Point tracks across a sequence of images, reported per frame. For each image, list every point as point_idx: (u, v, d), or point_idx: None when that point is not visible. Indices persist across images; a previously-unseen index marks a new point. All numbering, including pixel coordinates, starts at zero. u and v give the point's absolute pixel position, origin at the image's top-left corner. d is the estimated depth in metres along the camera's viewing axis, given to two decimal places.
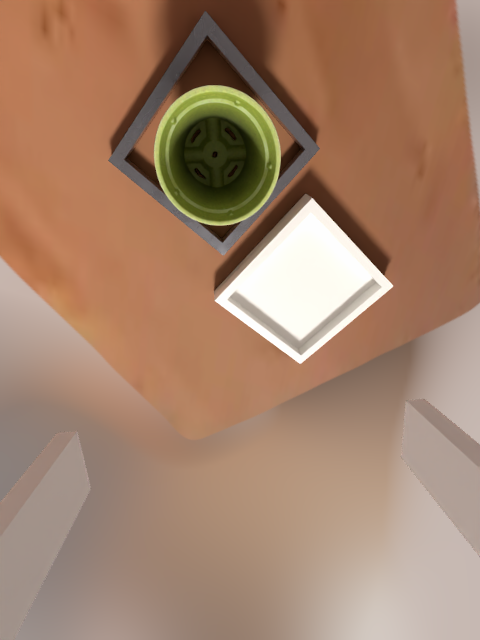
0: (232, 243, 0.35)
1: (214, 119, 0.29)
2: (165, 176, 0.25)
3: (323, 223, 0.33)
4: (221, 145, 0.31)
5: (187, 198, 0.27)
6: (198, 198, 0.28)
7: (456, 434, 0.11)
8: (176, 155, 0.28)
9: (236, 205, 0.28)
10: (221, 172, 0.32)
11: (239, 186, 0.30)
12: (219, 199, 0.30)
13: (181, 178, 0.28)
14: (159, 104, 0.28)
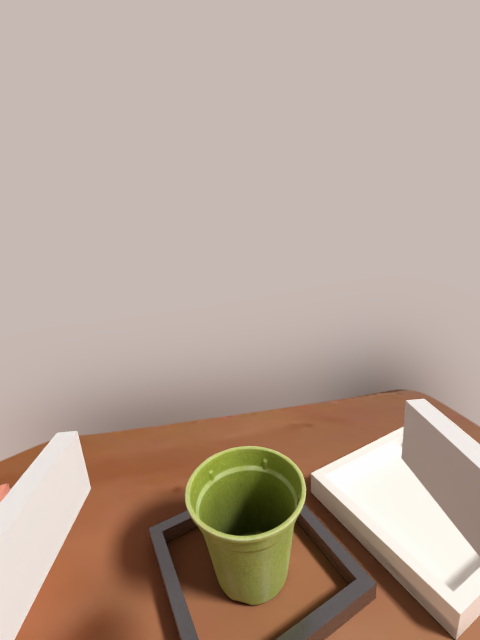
0: (357, 565, 0.26)
1: None
2: None
3: (336, 467, 0.35)
4: None
5: (274, 544, 0.22)
6: None
7: (456, 434, 0.11)
8: (232, 571, 0.23)
9: (293, 500, 0.26)
10: None
11: None
12: None
13: None
14: (183, 597, 0.24)
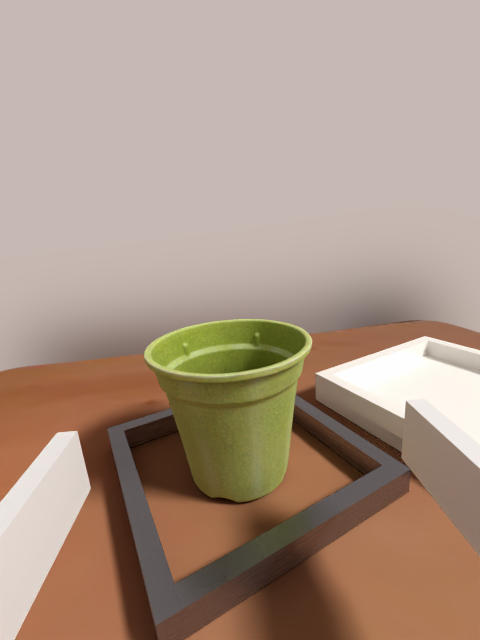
0: (382, 452, 0.19)
1: None
2: (218, 386, 0.15)
3: (347, 368, 0.28)
4: None
5: (267, 400, 0.16)
6: None
7: (456, 434, 0.11)
8: (209, 448, 0.17)
9: None
10: None
11: None
12: None
13: (242, 439, 0.16)
14: (141, 490, 0.17)
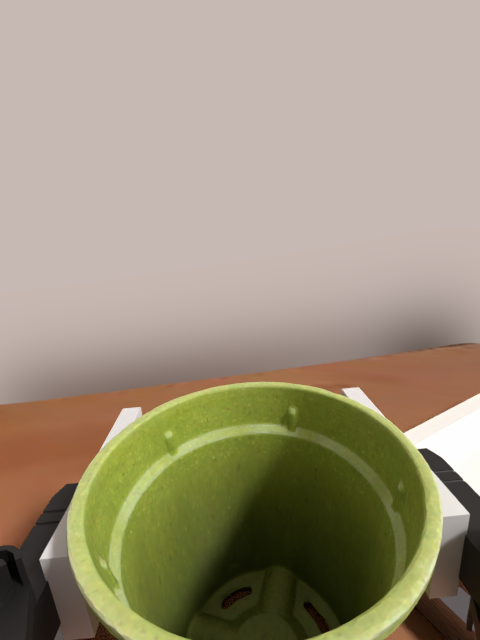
0: None
1: (194, 622, 0.12)
2: None
3: (419, 439, 0.18)
4: (251, 625, 0.12)
5: None
6: None
7: None
8: None
9: (377, 500, 0.10)
10: None
11: (344, 560, 0.12)
12: (375, 602, 0.09)
13: None
14: None
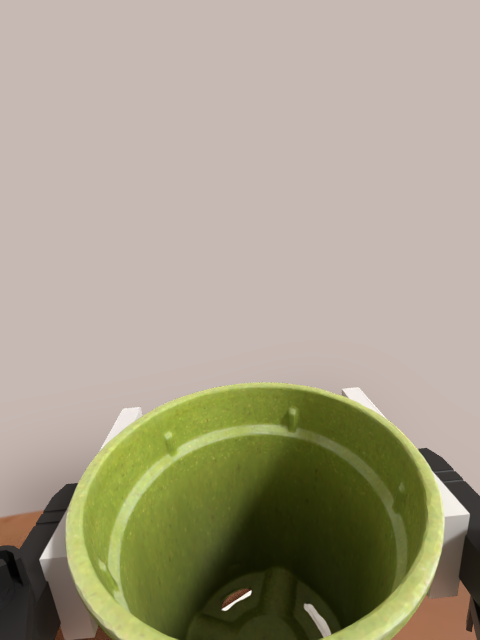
0: None
1: (193, 623, 0.12)
2: None
3: None
4: (251, 627, 0.12)
5: None
6: None
7: None
8: None
9: (378, 500, 0.10)
10: None
11: (345, 561, 0.12)
12: (376, 603, 0.09)
13: None
14: None
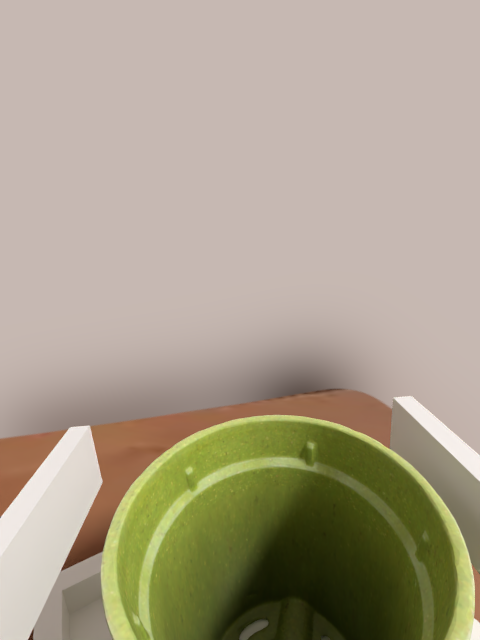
0: None
1: None
2: None
3: None
4: None
5: None
6: None
7: (439, 430, 0.11)
8: None
9: (400, 545, 0.10)
10: None
11: (363, 598, 0.12)
12: None
13: None
14: None
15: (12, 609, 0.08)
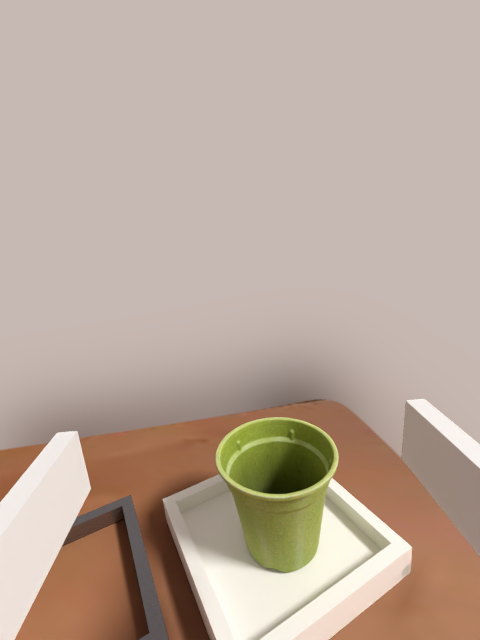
0: (159, 615, 0.22)
1: None
2: (276, 501, 0.21)
3: (193, 492, 0.31)
4: None
5: (308, 505, 0.22)
6: None
7: (456, 434, 0.11)
8: (266, 536, 0.23)
9: (324, 467, 0.26)
10: None
11: None
12: None
13: None
14: None
15: None
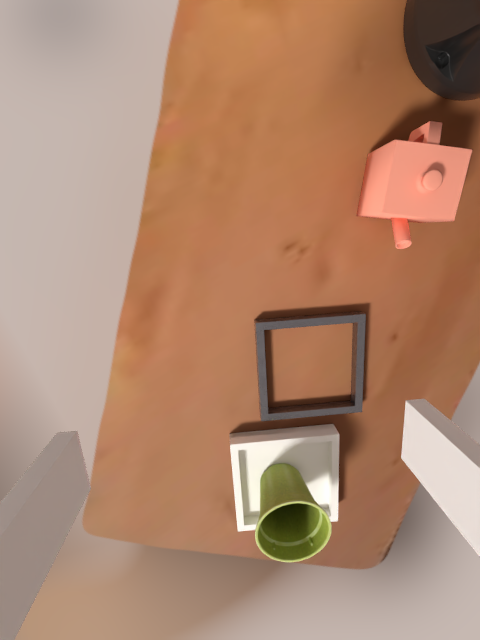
0: (273, 419, 0.44)
1: (295, 470, 0.46)
2: (263, 515, 0.39)
3: (332, 452, 0.45)
4: None
5: None
6: None
7: (456, 434, 0.11)
8: (268, 486, 0.43)
9: (278, 540, 0.42)
10: None
11: (281, 515, 0.45)
12: (268, 519, 0.44)
13: (261, 500, 0.42)
14: (308, 325, 0.40)
15: None
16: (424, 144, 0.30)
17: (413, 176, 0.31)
